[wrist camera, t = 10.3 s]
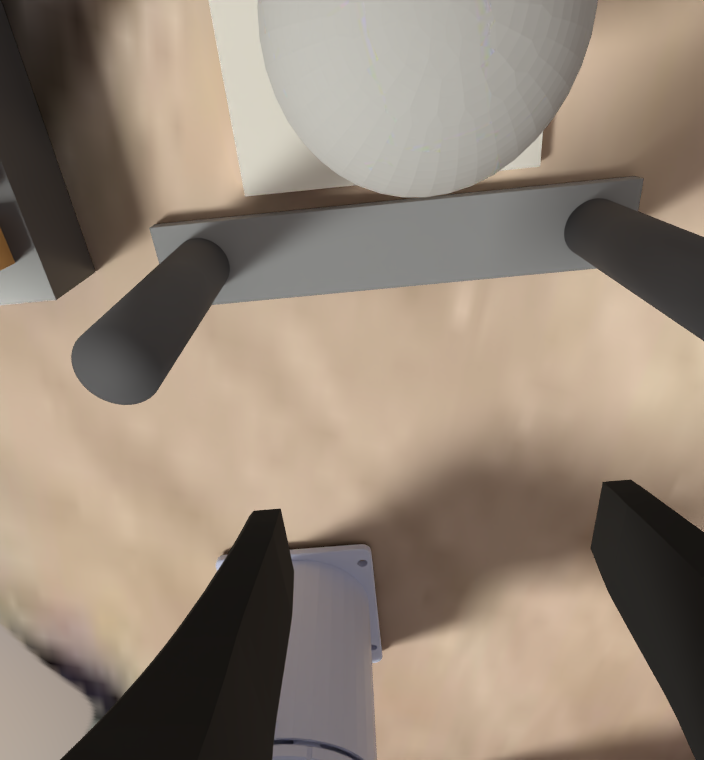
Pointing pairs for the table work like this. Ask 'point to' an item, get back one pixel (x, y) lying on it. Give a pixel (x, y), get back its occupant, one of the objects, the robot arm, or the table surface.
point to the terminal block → (32, 196)
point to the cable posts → (385, 263)
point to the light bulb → (422, 83)
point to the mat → (275, 113)
